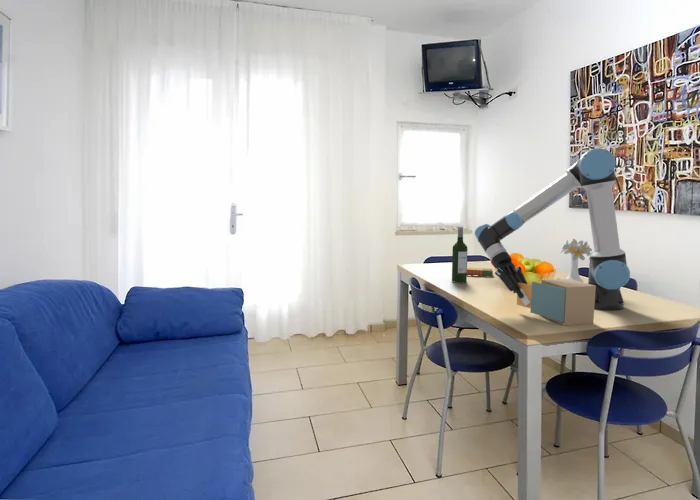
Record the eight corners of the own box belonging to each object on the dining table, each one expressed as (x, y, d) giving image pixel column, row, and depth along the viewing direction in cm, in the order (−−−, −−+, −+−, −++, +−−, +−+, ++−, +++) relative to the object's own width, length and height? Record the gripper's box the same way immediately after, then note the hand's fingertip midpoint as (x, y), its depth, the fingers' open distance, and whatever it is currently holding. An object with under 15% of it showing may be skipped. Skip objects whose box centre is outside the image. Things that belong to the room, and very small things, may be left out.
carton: (464, 274, 257) (464, 267, 257) (492, 275, 253) (492, 268, 252) (464, 276, 249) (464, 269, 249) (492, 277, 245) (493, 270, 245)
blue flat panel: (518, 307, 171) (519, 278, 170) (563, 321, 152) (565, 288, 151) (516, 308, 171) (517, 278, 169) (562, 321, 152) (563, 289, 151)
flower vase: (566, 294, 201) (569, 241, 198) (554, 286, 219) (557, 238, 216) (596, 295, 199) (599, 242, 196) (581, 286, 217) (584, 238, 214)
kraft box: (566, 313, 169) (568, 278, 167) (593, 323, 155) (595, 285, 153) (539, 314, 166) (541, 279, 165) (564, 325, 153) (566, 287, 151)
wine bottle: (459, 279, 238) (460, 226, 234) (469, 282, 231) (471, 227, 227) (448, 281, 234) (449, 226, 230) (459, 283, 227) (460, 227, 223)
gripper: (505, 260, 184) (536, 306, 171) (481, 263, 177) (511, 311, 165) (516, 249, 178) (548, 296, 166) (491, 251, 172) (523, 301, 159)
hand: (529, 304), depth 165 cm, fingers closed
